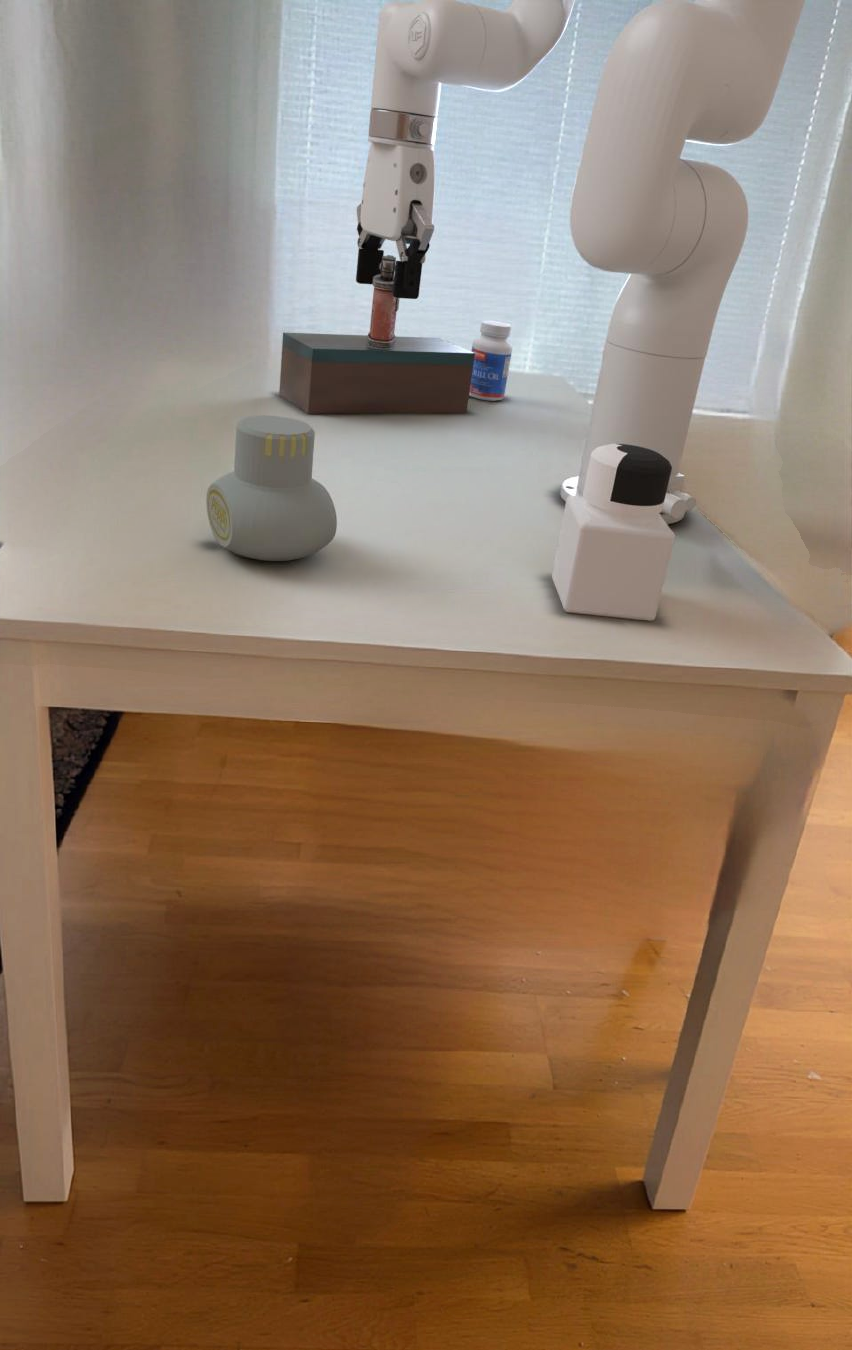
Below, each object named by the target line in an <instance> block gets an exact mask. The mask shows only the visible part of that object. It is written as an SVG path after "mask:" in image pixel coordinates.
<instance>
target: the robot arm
mask: <svg viewBox="0 0 852 1350" xmlns="http://www.w3.org/2000/svg"><path fill="white" fill-rule="evenodd" d="M575 2H576V0H513V1H512V2H511V3H510V4H509V5H508V6H507V8H506V9H504V10H503V11H501V10H499V9H498V10H497V9H494V8H490V7H486V6H483V5H477V4H474V3H470V2H464V1H460V0H420V1H417V2H413V1H407V0H406V1H405V0H395V1H389V2H387V3H385V4H384V5H383V7H382V8H381V10H380V13H379V16H378V24H377V34H376V35H377V36H376V47H375V58H374V69H373V80H372V81H373V82H372V89H371V90H372V91H371V101H370V103H371V104H370V112H369V113H370V115H369V125H368V138H367V142H369V143H370V145H369V149H368V155H367V160H366V166H365V171H364V179H363V186H362V195H361V203H360V204H359V205H357V206H356V207H357V208H356V217H357V226H356V231H357V234H358V238H357V241H356V243H357V248H358V252H357V262H356V263H357V264H356V275H355V282H356V283H357V284H359V285H373V277H374V276H376V275H379V274H381V270H380V264H381V263H382V257H383V256H385V250H383V249H382V246H383V245H384V243H385V241H386V240H388V241H392V242H395V245H396V249H397V253H398V257H399V260H396V263H395V273H394V285H393V296H394V297H395V298H400V299H406V300H407V299H408V300H417V299H418V298H419V296H420V288H421V287H420V286H421V279H422V269H423V264H425V262H426V254H427V252H428V251H429V249H430V246H431V245H430V242H431V239H432V237H433V234H434V232H435V225H434V223H433V221H434V211H435V210H434V208H435V195H436V194H435V192H436V158H435V157H436V156H435V142H436V133H437V125H438V116H439V107H440V98H441V90H442V88H441V87H442V84H445V85H450V86H458V87H459V86H460V87H465V88H469V89H475V90H480V91H485V92H493V93H499V92H504V91H507V90H509V89H511V88H514V87H515V86H517V85H518V84H519V83H521V82H523V80H525V79H526V77H528V76H529V75H530V74H531V73H532V72H533V71H534V70H535V69H536V68H537V67H538V66H539V65H540V64H541V62H542V61H543V60H544V59H545V58H546V57H547V56H548V55H549V54H550V53H551V52H552V51H553V49H554V48H555V47H556V46H557V44H558V43H559V41H560V40H561V38H562V36H563V35H564V33H565V30H566V28H567V27H568V23H569V20H570V18H571V15H572V12H573V9H574V5H575ZM805 2H806V0H694V2H692V1H688V0H660V1H656V2H653V3H651V4H649V5H647V6H646V7H644V8H642V9H641V10H640V11H638V12H636V14H635V15H633V16H632V18H631V19H630V20H629V21H628V22H627V23H626V24H625V26H624V27H623V28H622V29H621V31H620V33H619V34H618V36H617V38H616V39H615V41H614V42H613V44H612V46H611V48H610V50H609V53H608V55H607V57H606V60H605V62H604V65H603V69H602V72H601V76H600V80H599V83H598V87H597V91H596V95H595V99H594V104H593V108H592V111H591V114H590V115H591V116H590V120H589V123H588V127H587V132H586V136H585V140H584V144H583V147H582V152H581V156H580V160H579V164H578V168H577V171H576V176H575V181H574V185H573V189H572V195H571V200H570V207H569V208H570V210H569V227H570V234H571V239H572V242H573V245H574V247H575V249H576V252H577V253H578V254H579V256H580V257H581V258H582V260H583V261H584V262H586V263H587V264H588V265H589V266H591V267H593V268H594V269H596V270H599V271H603V272H606V273H614V274H623V275H628V276H627V279H626V280H625V282H624V284H623V286H622V288H621V289H620V292H619V294H618V296H617V298H616V300H615V303H614V305H613V308H612V311H611V315H610V318H609V321H608V325H607V326H608V327H607V331H606V337H605V340H604V345H603V351H602V356H601V360H600V366H599V370H598V376H597V380H596V381H597V382H596V387H595V392H594V396H593V401H592V407H591V413H590V416H589V422H588V428H587V431H586V432H587V433H586V438H585V443H584V448H583V453H582V457H581V458H582V459H581V464H580V469H579V473H578V475H577V476H573V477H569V478H567V479H566V480H564V481H563V482H562V483H561V486H560V491H559V495H560V497H561V499H562V500H563V501H564V503H566V500H567V498H568V497H569V496H580V497H583V491H584V486H585V481H586V476H587V471H588V466H589V461H590V456H591V453H592V452H593V451H594V450H595V449H596V448H598V447H601V446H604V445H608V444H628V445H634V446H639V447H643V448H647V449H650V450H653V451H655V452H657V453H659V454H661V455H662V456H663V457H665V458H666V459H667V460H668V461H669V462H670V464H671V466H672V471H671V475H670V479H669V483H668V487H667V492H666V496H665V500H664V504H663V509H662V511H661V512H660V513H659V514H660V515H661V517H662V518H663V519H664V521H665V522H666V524H667V525H670V524H675V523H678V522H679V521H681V520H682V519H684V517H685V514H686V511H688V512H690V511H692V510H693V509H694V508H695V506H696V505H697V498H696V497H694V496H692V495H691V494H689V493H686V492H682V490H683V485H684V480H685V477H686V476H685V475H683V474H681V473H680V472H679V470H680V466H681V461H682V457H683V452H684V449H685V445H686V440H687V436H688V433H689V429H690V424H691V420H692V415H693V411H694V407H695V403H696V399H697V394H698V391H699V390H698V389H699V386H700V381H701V378H702V373H703V369H704V364H705V360H706V357H707V354H708V350H709V346H710V342H711V340H712V339H711V338H712V335H713V330H714V326H715V323H716V319H717V316H718V311H719V309H720V306H721V303H722V299H723V297H724V294H725V291H726V288H727V286H728V283H729V280H730V279H731V276H732V273H733V271H734V269H735V266H736V264H737V262H738V259H739V256H740V254H741V251H742V249H743V246H744V243H745V239H746V236H747V230H748V225H749V207H748V201H747V197H746V195H745V192H744V191H743V188H742V186H741V185H740V183H739V182H738V180H736V178H735V177H734V176H733V175H732V174H731V173H729V172H728V171H727V170H725V169H723V168H722V167H720V166H718V165H716V164H713V163H709V162H706V161H702V160H701V161H700V160H696V159H690V158H683V157H682V153H683V150H684V147H685V144H686V142H688V143H694V144H702V145H711V146H719V147H720V146H733V145H736V144H739V143H742V142H744V141H746V140H747V139H749V138H751V136H753V135H754V134H755V133H756V131H758V129H759V128H760V127H761V126H762V124H763V123H764V121H765V119H766V117H767V115H768V113H769V110H770V109H771V106H772V103H773V100H774V98H775V95H776V92H777V90H778V86H779V82H780V80H781V76H782V74H783V70H784V67H785V64H786V60H787V58H788V55H789V52H790V48H791V46H792V42H793V40H794V39H793V38H794V36H795V33H796V30H797V28H798V24H799V21H800V17H801V14H802V11H803V8H804V5H805ZM407 246H408V247H407Z"/></svg>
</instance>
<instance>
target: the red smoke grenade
mask: <svg viewBox="0 0 852 1350" xmlns="http://www.w3.org/2000/svg"><path fill="white" fill-rule="evenodd" d="M396 261H397V257H396V256H394V255H391V254H387V255H383V257H382V263H381V264H380V270H381V274H379V275H376V276H374V277H373V284H372V287H373V292H372V294H373V295H372V303H371V313H370V314H371V315H370V325H369V332H368V333H367V335H368V338H367V344H368V346H369V347H372V348H377V349H391V348H392V347H393V346H394V345H395V336H396V334H395V329H396V321H397V312H398V311H399V308H400V299H401V298H395V297H394V296H393V285H394V275H395V266H396Z"/></svg>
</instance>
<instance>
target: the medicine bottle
mask: <svg viewBox="0 0 852 1350" xmlns="http://www.w3.org/2000/svg"><path fill="white" fill-rule="evenodd" d="M671 471H672V466H671V464H670V462H669V461H668V460H667V459H666V458H665V457H663V456H662V455H661V454H659V453H657V452H655V451H653V450H650V449H647V448H643V447H639V446H634V445H628V444H608V445H604V446H601V447H598V448H596V449H595V450H594V451H593V452H592V453H591V456H590V461H589V466H588V471H587V476H586V481H585V486H584V491H583V497H580V496H569V497H568V498H567V500H566V502H565V505H564V510H563V516H562V521H561V527H560V530H559V531H560V532H559V537H558V541H557V547H556V552H555V556H554V557H555V558H554V562H553V567H552V571H551V572H552V573H551V579H552V581H553V584H554V587H555V589H556V592H557V595H558V598H559V600H560V603H561V605H562V609H563V610H564V611H565V612H566V613H571V614H580V615H590V616H600V617H601V616H602V617H611V618H619V619H629V620H637V621H638V620H640V621H649V622H652V621H654V620H655V619H656V617H657V613H658V607H659V605H660V599H661V595H662V592H663V588H664V583H665V581H666V580H665V579H666V575H667V572H668V567H669V563H670V558H671V555H672V551H673V546H674V543H675V537H676V536H675V533H674V532H673V530H672V529H671V527H670V526H669V524H666V522H665V521H664V519H663V518H662V517H661V515H660V514H659V513H660V512H661V511H662V509H663V504H664V500H665V496H666V492H667V487H668V483H669V479H670V475H671Z"/></svg>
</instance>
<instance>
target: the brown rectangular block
mask: <svg viewBox="0 0 852 1350" xmlns="http://www.w3.org/2000/svg"><path fill="white" fill-rule="evenodd" d="M367 338H368V334H367V335H365V334H363V335H362V334H338V333H337V334H335V333H331V334H330V333H307V332H282V341H281V342H282V343H281V344H282V345H281V359H280V373H279V374H280V376H279V390H278V395H279V396H281V397H282V398H283V399H285V400H286V401H288V402H290V403H292V405H294V406H295V407H297V408H298V409H300V410H302V411H303V412H304V413H306V414H308V415H317V414H318V415H330V414H331V415H333V414H334V415H340V414H341V415H342V414H343V415H344V414H345V415H348V414H350V415H352V414H355V415H357V414H358V415H359V414H362V415H363V414H365V415H366V414H367V415H368V414H369V415H371V414H373V415H375V414H467V413H468V405H469V399H470V396H469V393H470V386H471V379H472V372H473V365H474V358H475V353H473V352H471V351H472V350H468V349H466V348H464V347H461V346H459V345H457V344H455V343H452V342H450V341H448V340H445V339H443V338H441V337H423V336H396V335H395V345H394V346H393V347H392V348H391V349H377V348H372V347H369V346H368V344H367Z"/></svg>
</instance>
